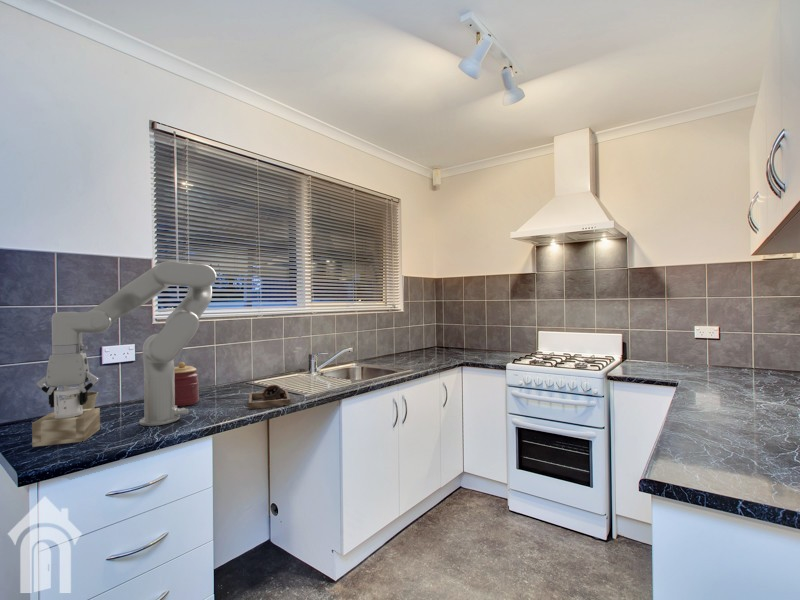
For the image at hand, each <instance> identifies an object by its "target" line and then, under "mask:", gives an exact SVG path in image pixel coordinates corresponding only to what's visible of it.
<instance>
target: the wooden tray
mask: <svg viewBox="0 0 800 600" xmlns="http://www.w3.org/2000/svg"><path fill="white" fill-rule="evenodd" d="M283 390H284V389H283ZM262 393H263V391H262V392H261V391H260V392H251V393H249V395H248V398H249V399H248V410H253V409H254V410H255V409H264V408H265V409H266V408H267V409H268V408H275V407H277V408H278V407H284V406H283V405H287V406H291V397H290V394H289V392H288V390H287V389H285V390H284V395H285V396H286V399H277V400H276V399H275V400H269V401H263V400H262V401H260V400H261V399H263V394H262ZM265 395H268V394H267V392H266V393H265ZM259 399H260V400H259ZM253 400H259V401H253Z"/></svg>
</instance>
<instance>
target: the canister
mask: <svg viewBox="0 0 800 600" xmlns="http://www.w3.org/2000/svg"><path fill="white" fill-rule="evenodd" d="M174 369H175V405H177V408H179V407H178V406H180V407H186V405H187V406H192V405H195V404H198V402H199V399H200V393H199V390H200V386H199V384H200V381H199V379H198V377H199V375H200V374H199V373H198V372H197V370H198V369H197V368H196V367H194V366H193V365H186V363H185V362H184V361H181V362H178V365H177V366H174Z"/></svg>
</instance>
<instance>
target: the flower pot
mask: <svg viewBox="0 0 800 600" xmlns="http://www.w3.org/2000/svg"><path fill="white" fill-rule="evenodd" d="M77 394H80V393H76V394H70V396H69V397H66V398H70V397H71V395H74V397H76V395H77ZM98 395H99V392H98V391H88V400H87V401H86V403H85V404H83V409H92V408H95V407H96V400H97V398H98Z"/></svg>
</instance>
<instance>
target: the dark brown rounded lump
mask: <svg viewBox="0 0 800 600" xmlns="http://www.w3.org/2000/svg"><path fill="white" fill-rule="evenodd" d="M262 392H263V393H262V394H263V398H262V401H269V400H280V399H286V396H285V395H284V389H283V388H281V387H280V385H278V384H271V385H269V386H267V387H266V388H265V389H264V390H263V391H262ZM266 392H267V394H268V395H265V393H266Z"/></svg>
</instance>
